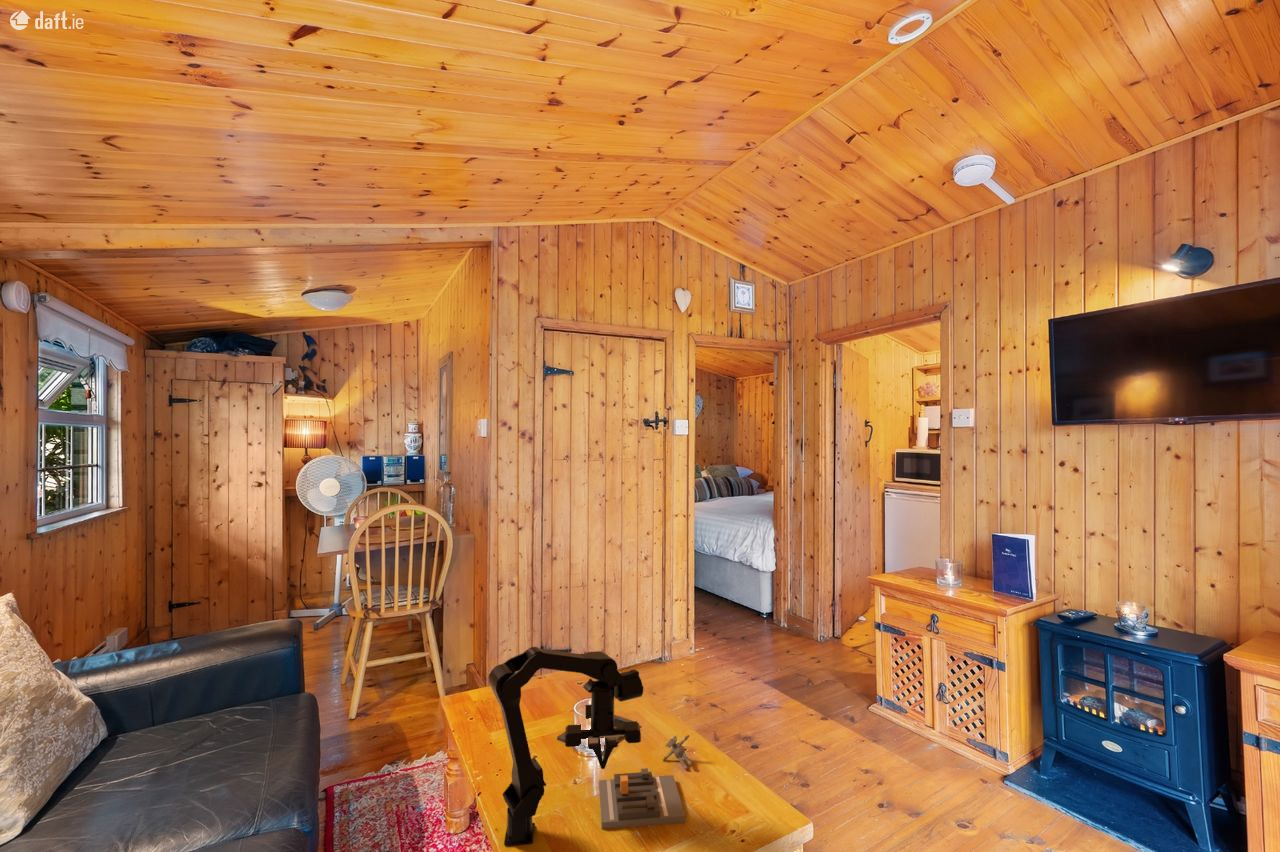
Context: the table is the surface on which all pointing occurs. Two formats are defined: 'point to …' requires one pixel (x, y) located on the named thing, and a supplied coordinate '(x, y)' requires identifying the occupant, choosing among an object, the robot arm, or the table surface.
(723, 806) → the table surface
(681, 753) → the grey toy figurine
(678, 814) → the panel
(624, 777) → the handle
